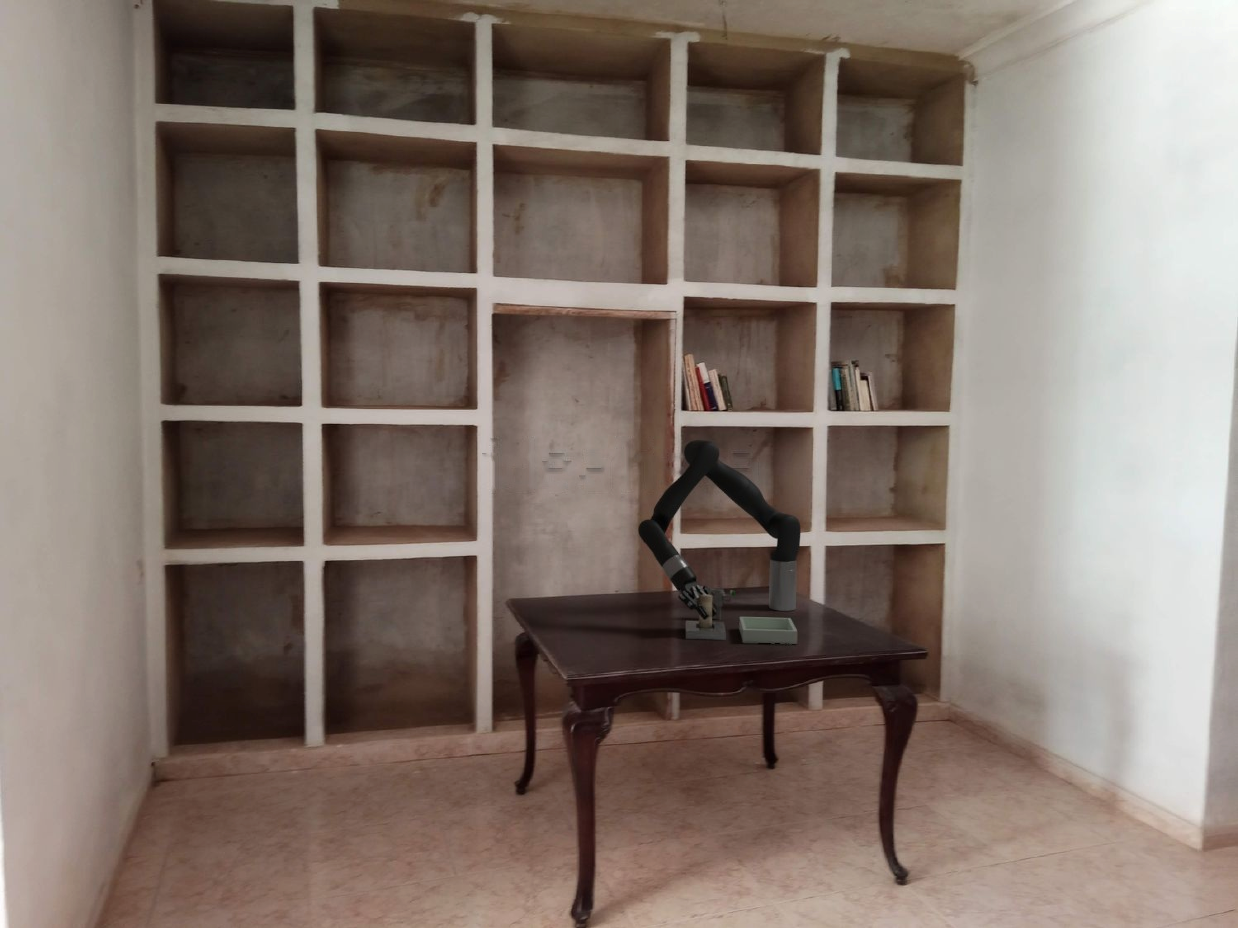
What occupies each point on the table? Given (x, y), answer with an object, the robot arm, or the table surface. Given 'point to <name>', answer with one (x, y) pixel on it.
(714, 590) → the mechanical component
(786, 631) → the tray
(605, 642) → the table surface
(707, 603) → the dowel
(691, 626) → the socket block
